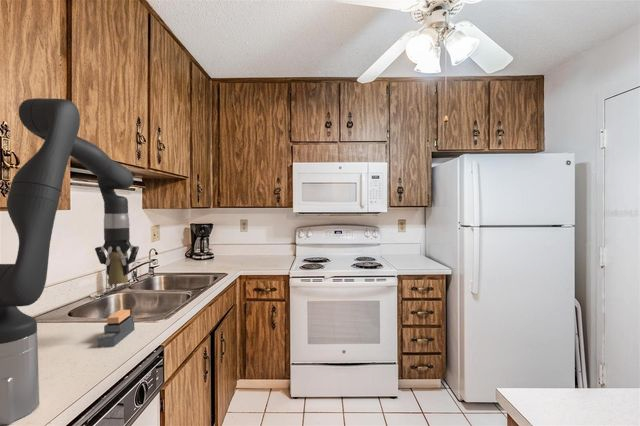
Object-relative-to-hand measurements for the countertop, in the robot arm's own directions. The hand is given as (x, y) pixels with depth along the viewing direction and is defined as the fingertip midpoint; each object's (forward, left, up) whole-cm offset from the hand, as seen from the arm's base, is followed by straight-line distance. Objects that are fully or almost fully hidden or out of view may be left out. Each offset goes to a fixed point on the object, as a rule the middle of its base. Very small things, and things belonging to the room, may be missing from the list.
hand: (118, 275), depth 115 cm
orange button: (0, 0, -15) cm, 15 cm away
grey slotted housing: (-1, 0, -21) cm, 22 cm away
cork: (0, 0, -2) cm, 2 cm away
